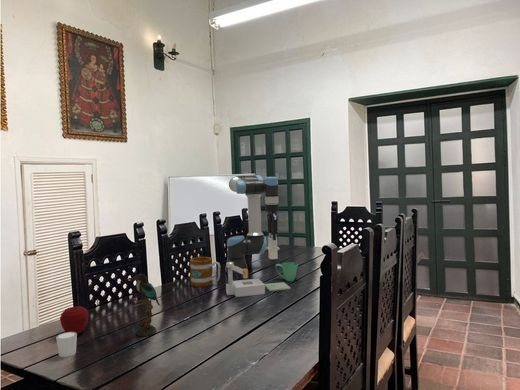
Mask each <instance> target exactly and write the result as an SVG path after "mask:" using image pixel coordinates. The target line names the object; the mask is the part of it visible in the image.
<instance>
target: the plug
mask: <svg viewBox="0 0 520 390" xmlns="http://www.w3.org/2000/svg"><path fill="white" fill-rule="evenodd" d="M276 244H277V246H272V244H271V235H269V234H268V235H267V245H268V246H266V250H268V255H267V256H268V259H269V260H278V258H279V257H278V251H279V250H280V247H279V246H278V235H276Z"/></svg>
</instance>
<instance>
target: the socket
mask: <svg viewBox="0 0 520 390" xmlns="http://www.w3.org/2000/svg"><path fill="white" fill-rule="evenodd" d="M233 275H234V273H233V272H232V269H231V268H228V273H227V276H228V277H227V278H228V283H226V284H225V291H226V296H231V295H233V296H235V297H236V298H239V297H241V298H242V297H248V296H249V297H250V296H258V295H265V294H266V287H265V285H264V284H265V283H264V282H263V281H261V280H260V279H259V278H251V279H250V278H247V279H239V280H234V279H233V278H234V277H233Z"/></svg>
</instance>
